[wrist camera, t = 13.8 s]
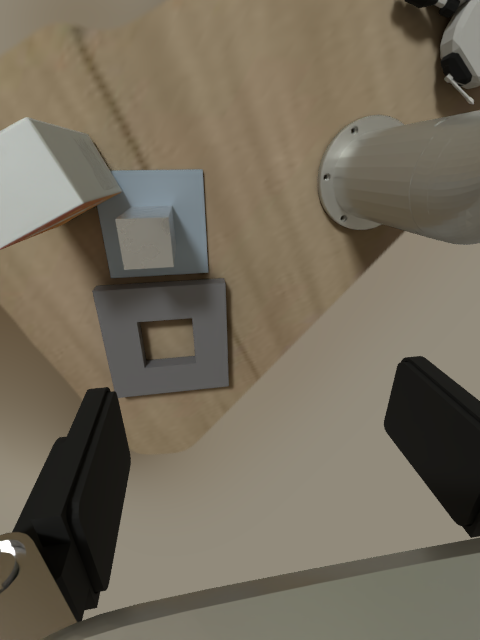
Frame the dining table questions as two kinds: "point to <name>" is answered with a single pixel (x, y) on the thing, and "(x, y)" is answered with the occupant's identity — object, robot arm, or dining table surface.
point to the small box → (47, 178)
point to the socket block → (154, 305)
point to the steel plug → (147, 237)
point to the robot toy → (459, 42)
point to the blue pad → (159, 191)
